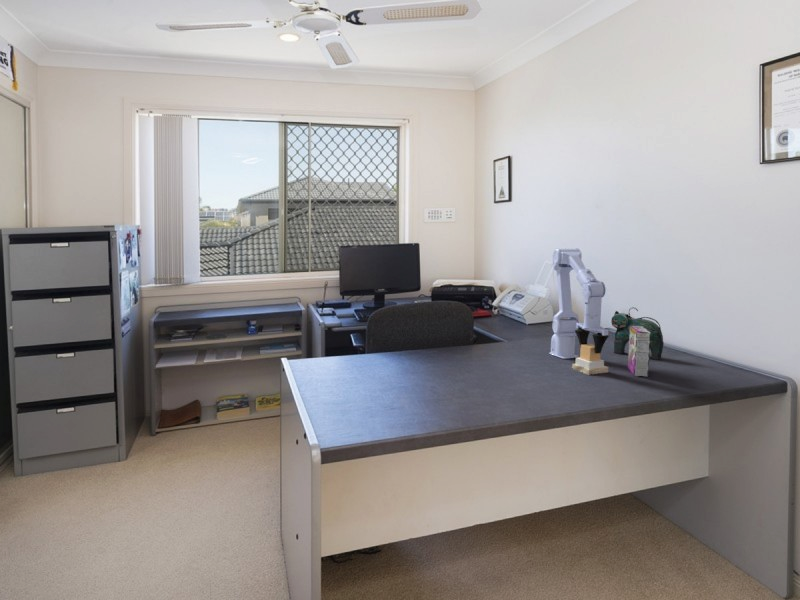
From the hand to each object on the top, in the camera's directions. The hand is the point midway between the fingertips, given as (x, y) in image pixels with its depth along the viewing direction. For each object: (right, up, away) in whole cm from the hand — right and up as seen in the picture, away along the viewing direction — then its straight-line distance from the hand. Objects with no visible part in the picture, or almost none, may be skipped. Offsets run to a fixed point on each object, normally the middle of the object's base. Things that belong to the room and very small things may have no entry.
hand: (590, 350), depth 193 cm
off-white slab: (0, -6, +1) cm, 6 cm away
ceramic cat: (+27, -4, +22) cm, 35 cm away
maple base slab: (0, -8, +1) cm, 8 cm away
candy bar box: (+16, -8, -2) cm, 18 cm away
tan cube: (0, -3, 0) cm, 3 cm away
